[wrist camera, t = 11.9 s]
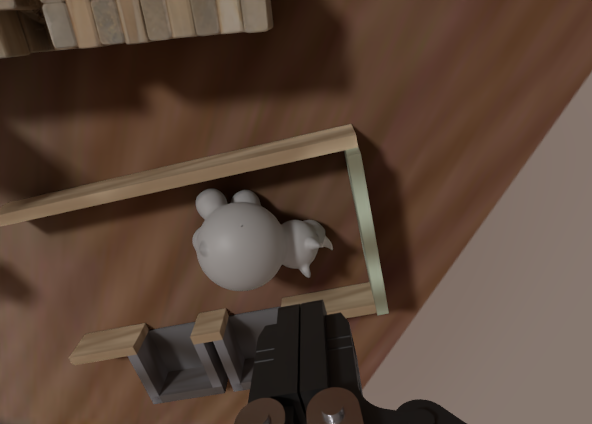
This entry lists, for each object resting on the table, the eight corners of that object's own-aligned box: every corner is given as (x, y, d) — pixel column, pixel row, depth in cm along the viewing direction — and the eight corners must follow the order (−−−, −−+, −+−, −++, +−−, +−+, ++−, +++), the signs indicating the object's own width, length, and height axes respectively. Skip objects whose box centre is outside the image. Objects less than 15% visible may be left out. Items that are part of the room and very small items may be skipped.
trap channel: (8, 202, 37) (-33, 227, 33) (351, 124, 34) (358, 139, 29) (115, 386, 47) (95, 424, 43) (390, 340, 43) (400, 378, 39)
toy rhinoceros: (301, 248, 42) (336, 304, 35) (183, 248, 37) (196, 312, 30) (320, 186, 39) (362, 234, 32) (193, 176, 34) (211, 231, 27)
